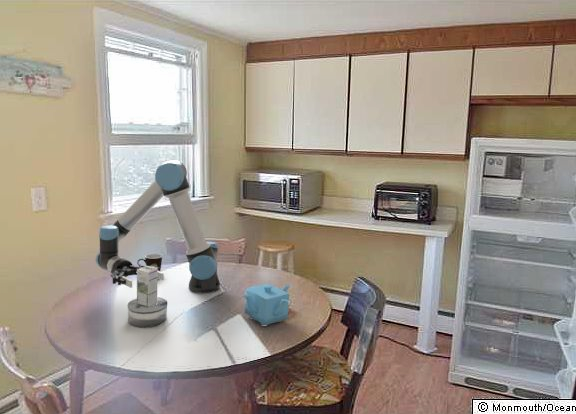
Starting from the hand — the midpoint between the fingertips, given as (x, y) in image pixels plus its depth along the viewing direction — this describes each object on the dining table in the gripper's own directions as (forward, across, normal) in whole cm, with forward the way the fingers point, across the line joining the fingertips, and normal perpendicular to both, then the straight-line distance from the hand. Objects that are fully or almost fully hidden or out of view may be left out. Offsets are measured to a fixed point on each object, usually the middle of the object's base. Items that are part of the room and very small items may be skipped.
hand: (147, 280), depth 162 cm
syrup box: (0, 0, -10) cm, 10 cm away
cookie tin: (0, 0, -17) cm, 17 cm away
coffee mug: (-47, -30, -17) cm, 58 cm away
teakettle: (+32, -36, -17) cm, 51 cm away
